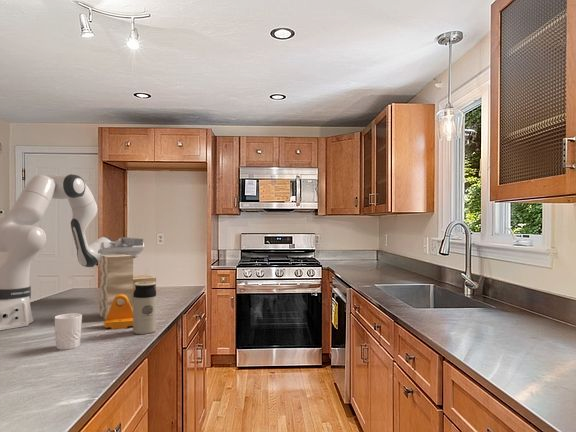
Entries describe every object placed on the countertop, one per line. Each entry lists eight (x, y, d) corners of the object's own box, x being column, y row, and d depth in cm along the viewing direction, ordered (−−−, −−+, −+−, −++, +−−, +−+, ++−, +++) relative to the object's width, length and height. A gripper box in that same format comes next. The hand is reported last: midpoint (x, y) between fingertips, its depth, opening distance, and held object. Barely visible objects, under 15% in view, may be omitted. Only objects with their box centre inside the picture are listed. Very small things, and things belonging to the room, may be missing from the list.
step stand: (99, 315, 177) (100, 255, 177) (145, 309, 190) (146, 253, 190) (107, 320, 168) (108, 257, 168) (155, 314, 180) (156, 255, 181)
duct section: (119, 243, 198) (120, 237, 198) (128, 243, 201) (128, 237, 201) (133, 245, 183) (134, 239, 183) (142, 245, 185) (143, 238, 185)
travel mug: (133, 329, 154) (133, 281, 154) (155, 328, 157) (155, 281, 157) (132, 335, 147) (133, 285, 147) (156, 333, 150) (156, 284, 150)
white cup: (75, 341, 139) (75, 312, 139) (86, 346, 134) (86, 315, 134) (50, 347, 133) (50, 316, 133) (60, 352, 128) (60, 320, 128)
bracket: (103, 329, 154) (104, 297, 154) (105, 325, 161) (106, 294, 161) (134, 327, 158) (134, 296, 158) (135, 323, 164) (135, 293, 165)
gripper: (95, 247, 200) (103, 234, 191) (138, 246, 213) (146, 233, 204) (97, 259, 198) (104, 246, 189) (139, 257, 211) (148, 245, 202)
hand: (126, 239), depth 197 cm, fingers closed on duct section, 4 cm apart
